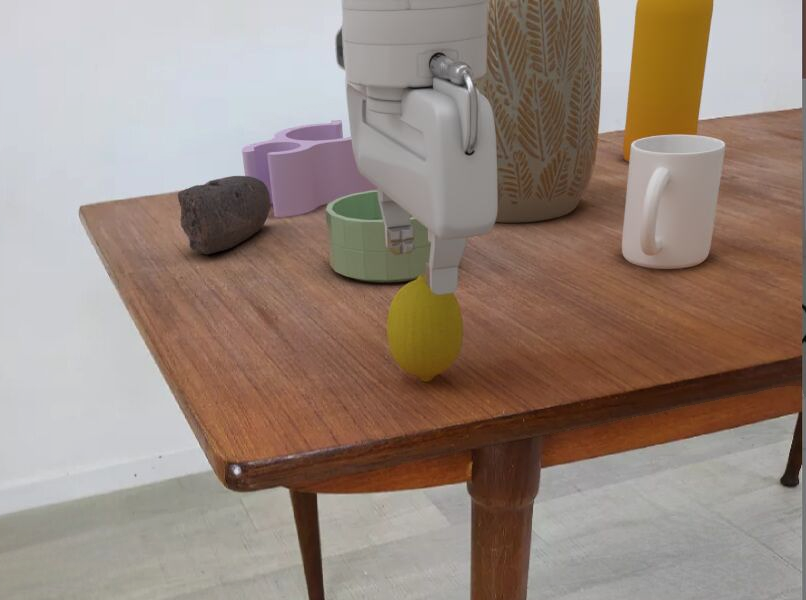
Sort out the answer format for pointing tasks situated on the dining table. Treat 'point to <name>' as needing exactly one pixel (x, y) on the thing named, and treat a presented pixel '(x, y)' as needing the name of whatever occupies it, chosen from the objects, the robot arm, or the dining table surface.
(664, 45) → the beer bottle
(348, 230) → the green planter pot
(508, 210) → the vase
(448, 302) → the lemon
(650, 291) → the dining table surface
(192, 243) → the perforated stone tool
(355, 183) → the clip
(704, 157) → the mug
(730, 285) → the dining table surface
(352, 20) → the robot arm
